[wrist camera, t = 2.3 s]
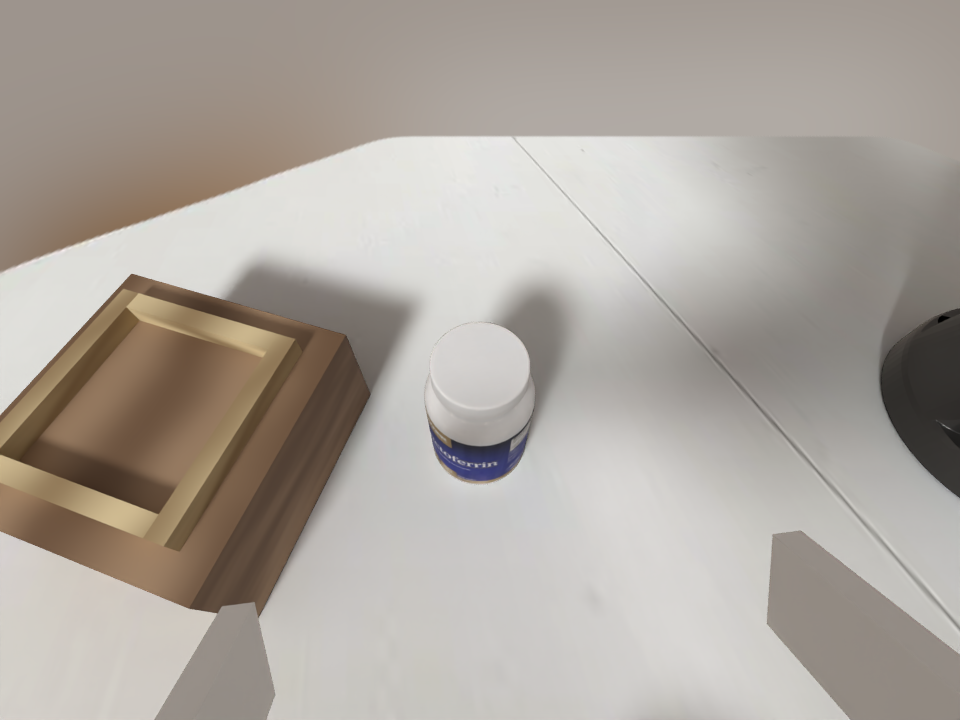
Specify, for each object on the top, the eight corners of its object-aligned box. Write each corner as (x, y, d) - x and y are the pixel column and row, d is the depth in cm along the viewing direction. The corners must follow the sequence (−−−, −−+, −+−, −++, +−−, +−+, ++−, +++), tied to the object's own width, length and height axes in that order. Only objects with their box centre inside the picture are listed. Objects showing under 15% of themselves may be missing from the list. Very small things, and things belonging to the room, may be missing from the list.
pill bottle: (417, 464, 30) (393, 387, 21) (458, 390, 33) (451, 296, 24) (503, 503, 29) (513, 439, 20) (538, 423, 31) (560, 336, 23)
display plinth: (370, 394, 32) (340, 322, 25) (257, 619, 25) (172, 605, 18) (191, 339, 35) (118, 259, 28) (42, 533, 28) (-106, 491, 21)
